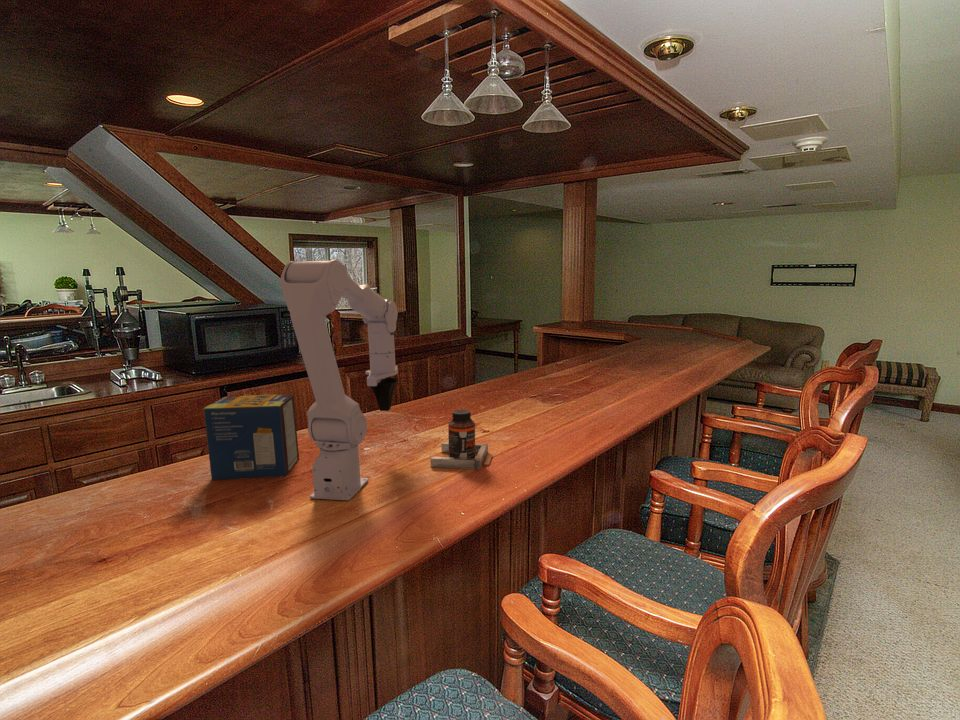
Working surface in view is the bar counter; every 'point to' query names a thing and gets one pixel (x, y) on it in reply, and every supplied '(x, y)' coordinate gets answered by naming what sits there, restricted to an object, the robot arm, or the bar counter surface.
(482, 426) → the bar counter surface
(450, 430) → the supplement bottle
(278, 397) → the protein box
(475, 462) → the bracket
